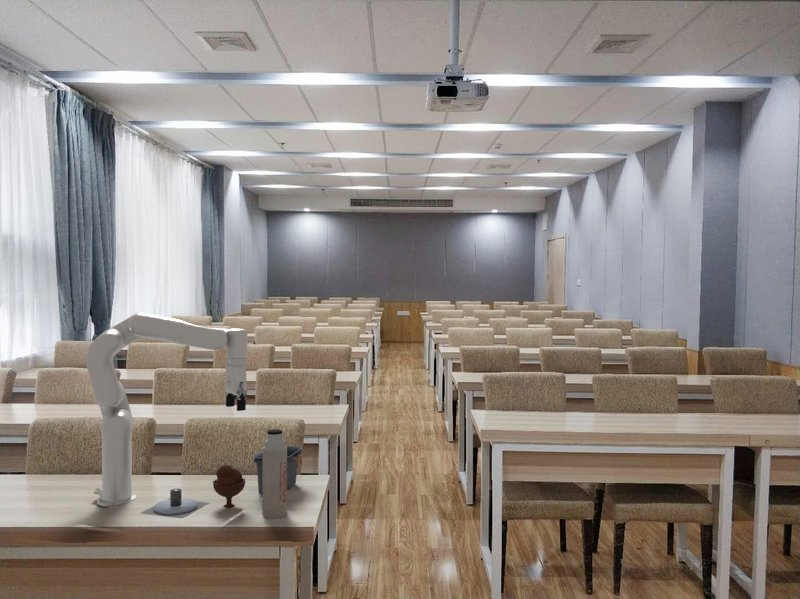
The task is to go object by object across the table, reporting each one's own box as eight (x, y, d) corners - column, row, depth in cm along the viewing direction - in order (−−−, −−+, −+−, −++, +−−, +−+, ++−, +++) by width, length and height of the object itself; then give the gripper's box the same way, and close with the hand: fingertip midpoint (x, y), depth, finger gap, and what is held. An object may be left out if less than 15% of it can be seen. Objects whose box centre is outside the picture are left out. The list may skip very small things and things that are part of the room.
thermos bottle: (291, 512, 224) (292, 429, 224) (275, 519, 217) (275, 433, 217) (273, 508, 228) (274, 426, 228) (257, 515, 222) (257, 430, 221)
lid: (144, 512, 220) (144, 494, 220) (170, 499, 234) (170, 482, 234) (181, 516, 216) (181, 498, 216) (205, 503, 230) (205, 486, 230)
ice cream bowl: (226, 516, 220) (227, 471, 220) (205, 509, 227) (205, 465, 226) (252, 508, 228) (252, 464, 228) (231, 501, 235) (231, 459, 235)
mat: (140, 516, 220) (140, 513, 220) (169, 501, 235) (169, 498, 235) (182, 521, 215) (182, 518, 215) (209, 505, 231) (209, 502, 231)
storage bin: (272, 480, 262) (272, 443, 261) (309, 482, 258) (310, 445, 258) (249, 496, 241) (249, 457, 240) (289, 500, 238) (290, 459, 237)
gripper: (217, 360, 251) (216, 405, 252) (236, 365, 238) (235, 413, 238) (236, 359, 256) (235, 404, 256) (256, 364, 242) (255, 411, 242)
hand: (235, 408), depth 247 cm, fingers open, 9 cm apart
